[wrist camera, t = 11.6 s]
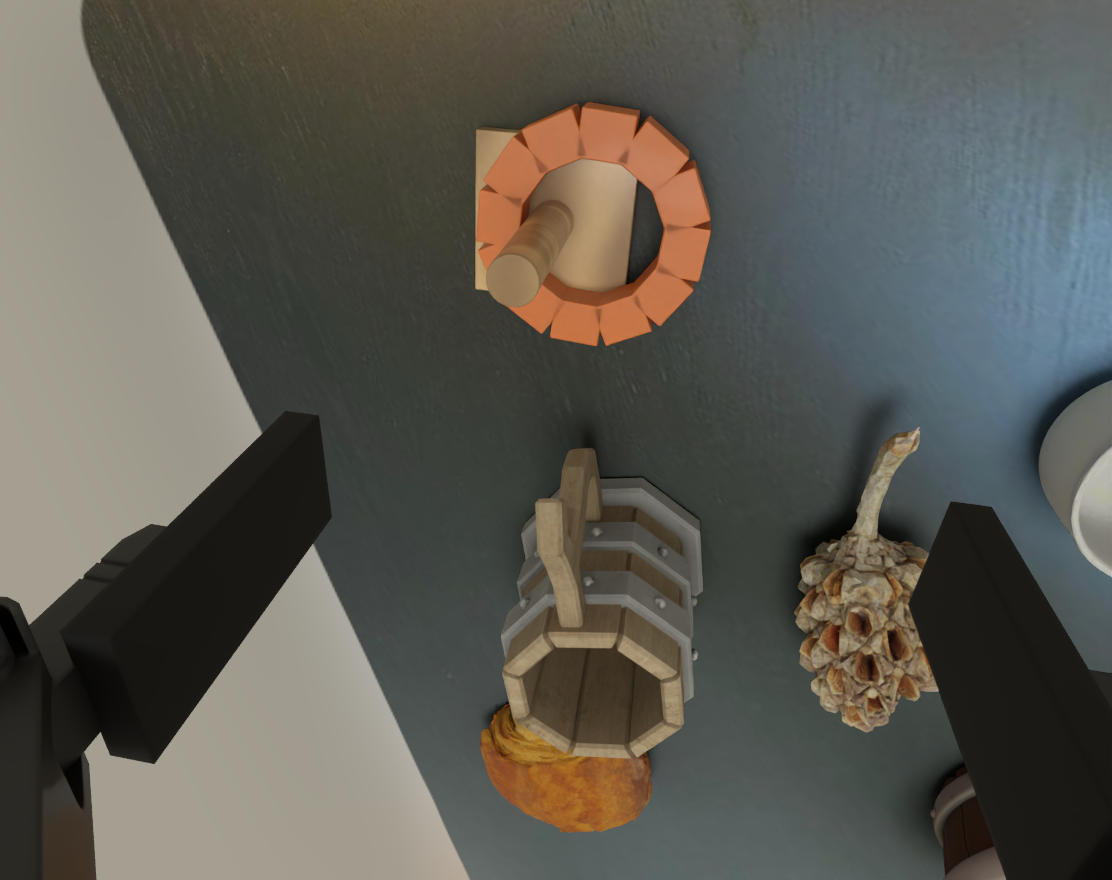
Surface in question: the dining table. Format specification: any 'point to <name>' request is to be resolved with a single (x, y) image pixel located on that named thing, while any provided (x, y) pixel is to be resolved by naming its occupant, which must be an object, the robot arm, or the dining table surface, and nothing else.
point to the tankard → (604, 615)
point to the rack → (561, 228)
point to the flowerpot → (964, 832)
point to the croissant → (563, 779)
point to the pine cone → (865, 610)
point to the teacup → (1082, 473)
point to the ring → (647, 159)
